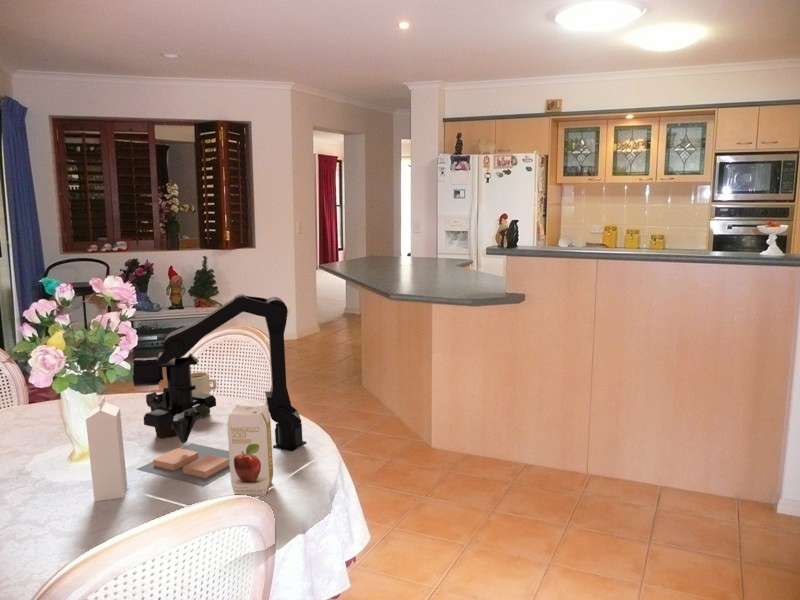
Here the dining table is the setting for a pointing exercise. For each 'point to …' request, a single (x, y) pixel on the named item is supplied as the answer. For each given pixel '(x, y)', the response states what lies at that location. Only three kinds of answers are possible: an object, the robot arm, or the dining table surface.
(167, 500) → the dining table surface
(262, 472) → the juice carton
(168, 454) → the tile
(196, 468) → the tile
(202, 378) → the character mug
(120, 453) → the milk
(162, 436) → the coffee mug
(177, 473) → the mat
